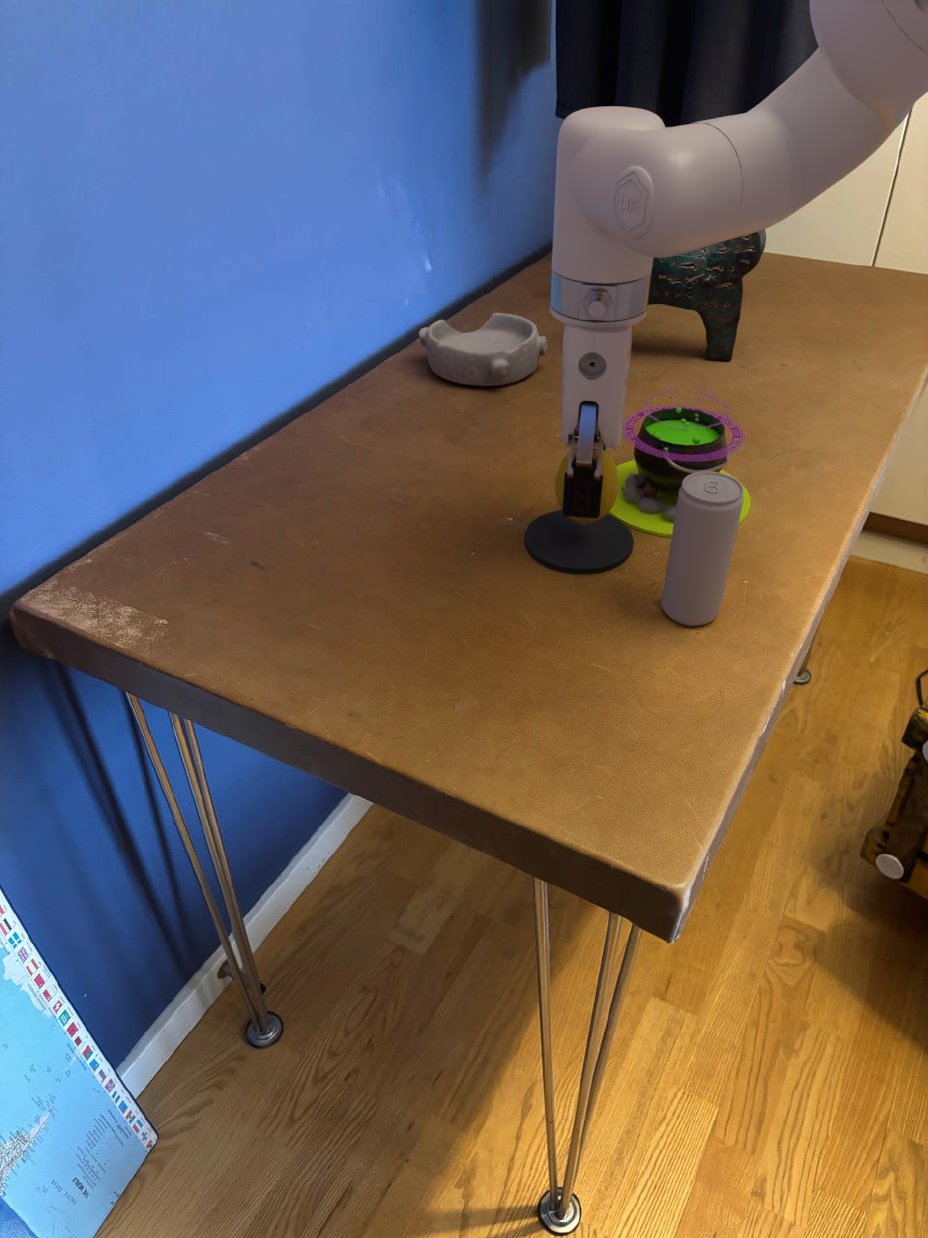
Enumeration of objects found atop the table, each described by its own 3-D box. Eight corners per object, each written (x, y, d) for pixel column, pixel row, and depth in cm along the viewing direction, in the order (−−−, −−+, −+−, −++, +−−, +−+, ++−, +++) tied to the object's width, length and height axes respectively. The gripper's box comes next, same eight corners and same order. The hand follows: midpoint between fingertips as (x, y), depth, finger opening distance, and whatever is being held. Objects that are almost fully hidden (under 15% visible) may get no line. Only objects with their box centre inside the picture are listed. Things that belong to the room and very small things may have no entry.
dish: (407, 364, 116) (404, 326, 113) (491, 338, 123) (492, 301, 120) (476, 403, 107) (476, 363, 104) (564, 373, 114) (566, 334, 111)
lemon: (543, 531, 82) (547, 451, 77) (567, 502, 86) (572, 424, 81) (600, 546, 80) (608, 466, 75) (623, 516, 84) (632, 438, 79)
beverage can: (656, 623, 75) (676, 497, 67) (664, 589, 78) (683, 466, 71) (716, 633, 74) (743, 506, 66) (721, 599, 77) (747, 475, 70)
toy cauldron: (721, 555, 82) (743, 445, 76) (571, 510, 89) (579, 405, 82) (770, 482, 92) (793, 379, 85) (632, 446, 99) (644, 348, 92)
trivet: (607, 506, 89) (608, 501, 89) (651, 563, 82) (651, 558, 81) (510, 522, 87) (510, 517, 87) (545, 582, 79) (545, 576, 79)
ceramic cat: (744, 349, 119) (775, 184, 106) (744, 369, 114) (776, 198, 102) (593, 336, 123) (606, 176, 110) (586, 355, 118) (598, 189, 105)
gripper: (648, 337, 63) (622, 554, 74) (649, 259, 76) (627, 453, 87) (539, 332, 64) (530, 547, 75) (559, 255, 77) (549, 448, 88)
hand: (583, 494), depth 81 cm, fingers closed on lemon, 5 cm apart
